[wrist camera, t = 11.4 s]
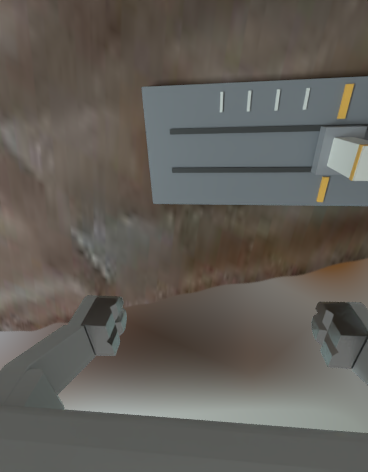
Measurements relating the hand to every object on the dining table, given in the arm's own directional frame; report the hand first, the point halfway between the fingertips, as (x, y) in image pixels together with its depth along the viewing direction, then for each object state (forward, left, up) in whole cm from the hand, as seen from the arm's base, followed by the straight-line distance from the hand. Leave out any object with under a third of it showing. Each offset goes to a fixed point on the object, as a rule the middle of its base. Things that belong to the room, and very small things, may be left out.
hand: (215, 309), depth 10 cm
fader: (-3, +14, -23) cm, 27 cm away
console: (-3, +6, -25) cm, 26 cm away
